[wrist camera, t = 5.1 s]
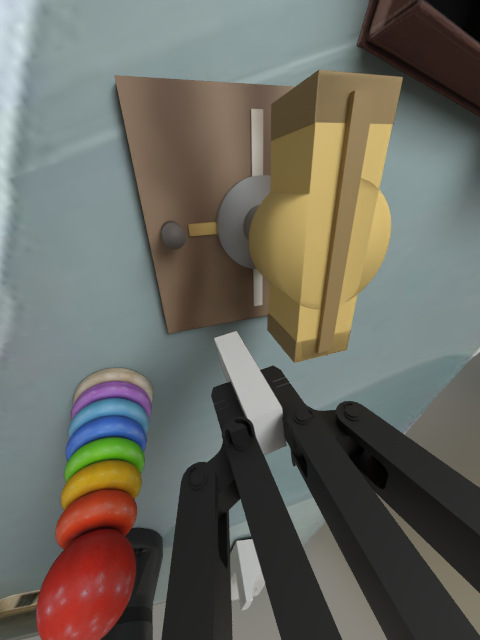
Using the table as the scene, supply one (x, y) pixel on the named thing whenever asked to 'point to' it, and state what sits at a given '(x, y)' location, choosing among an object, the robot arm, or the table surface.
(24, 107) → the table surface
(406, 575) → the robot arm
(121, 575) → the stacking toy
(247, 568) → the white mounting bracket
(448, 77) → the desk organizer
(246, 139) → the base
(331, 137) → the yellow block with ball
